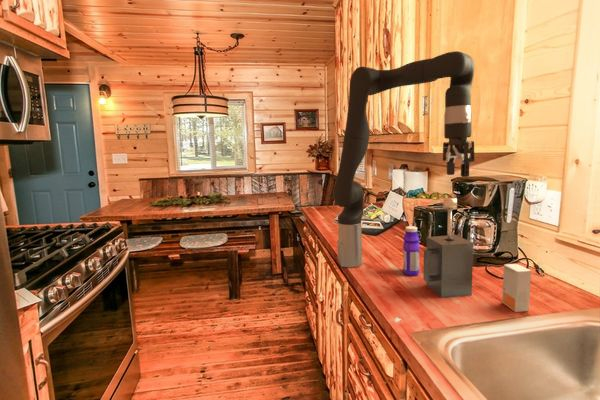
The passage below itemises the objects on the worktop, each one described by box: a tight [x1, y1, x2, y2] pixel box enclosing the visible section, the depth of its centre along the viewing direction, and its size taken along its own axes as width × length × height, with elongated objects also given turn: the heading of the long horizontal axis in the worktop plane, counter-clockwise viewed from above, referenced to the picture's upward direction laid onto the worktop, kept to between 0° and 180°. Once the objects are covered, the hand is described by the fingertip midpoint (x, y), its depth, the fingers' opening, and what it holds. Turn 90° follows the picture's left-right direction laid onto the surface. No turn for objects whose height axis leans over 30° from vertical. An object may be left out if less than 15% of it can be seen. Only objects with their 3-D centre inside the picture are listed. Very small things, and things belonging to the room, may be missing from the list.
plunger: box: [442, 197, 458, 241], centre depth 113 cm, size 8×8×19 cm
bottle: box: [402, 225, 420, 277], centre depth 131 cm, size 7×6×17 cm
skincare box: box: [501, 263, 532, 313], centre depth 102 cm, size 6×4×12 cm
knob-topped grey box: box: [422, 234, 474, 299], centre depth 115 cm, size 13×10×17 cm
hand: (457, 175), depth 110 cm, fingers open, 8 cm apart
